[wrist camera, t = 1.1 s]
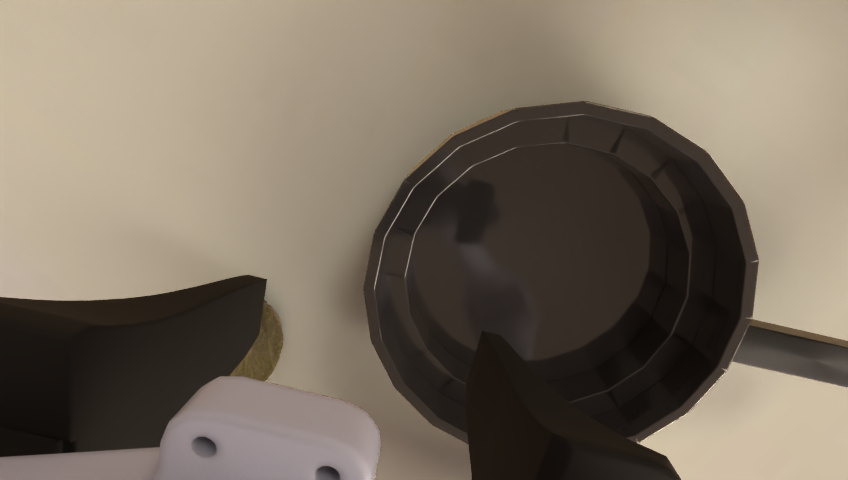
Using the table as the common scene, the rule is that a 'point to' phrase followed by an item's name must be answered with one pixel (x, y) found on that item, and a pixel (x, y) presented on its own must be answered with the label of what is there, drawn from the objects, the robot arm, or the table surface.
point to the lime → (263, 348)
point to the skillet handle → (794, 353)
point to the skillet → (564, 265)
